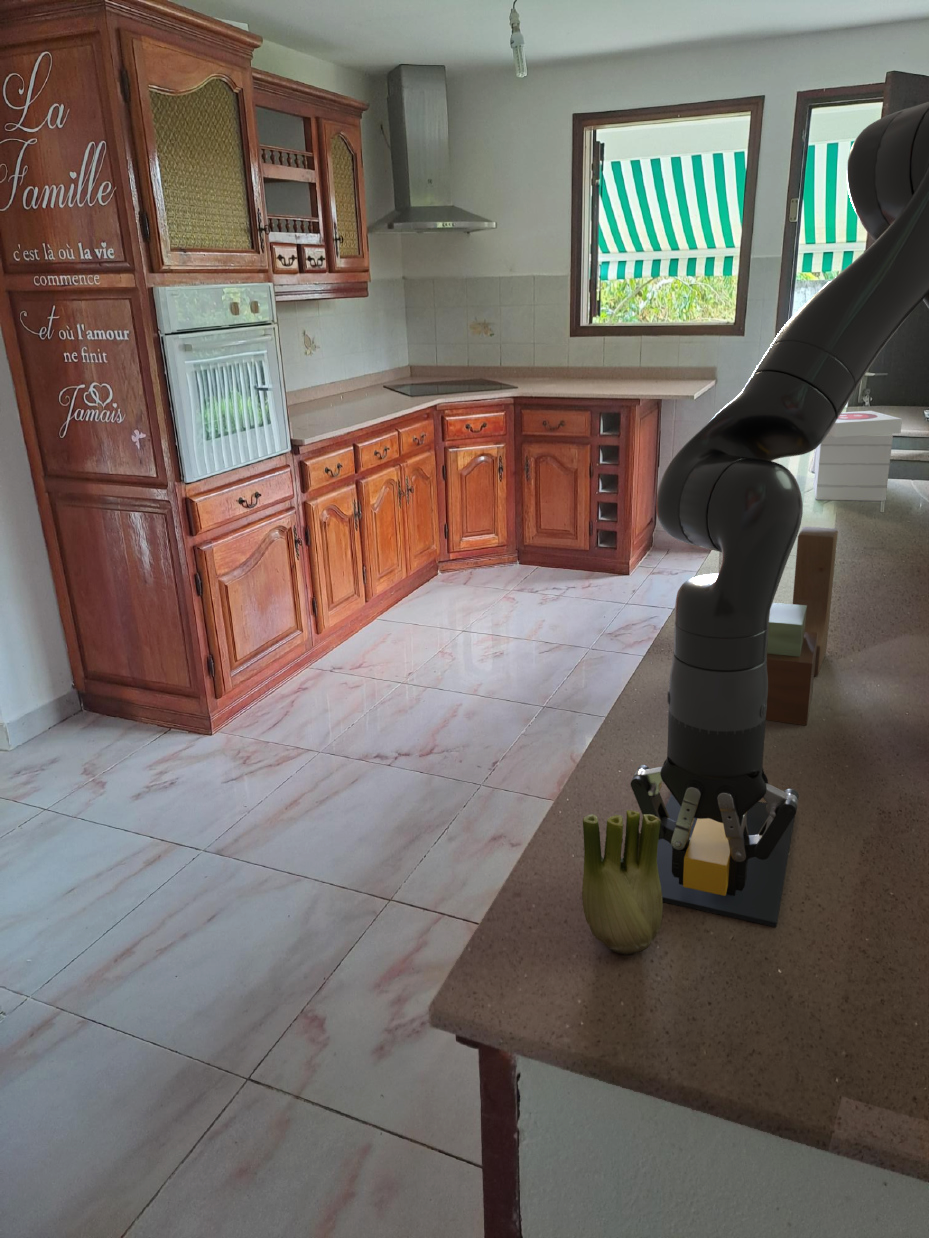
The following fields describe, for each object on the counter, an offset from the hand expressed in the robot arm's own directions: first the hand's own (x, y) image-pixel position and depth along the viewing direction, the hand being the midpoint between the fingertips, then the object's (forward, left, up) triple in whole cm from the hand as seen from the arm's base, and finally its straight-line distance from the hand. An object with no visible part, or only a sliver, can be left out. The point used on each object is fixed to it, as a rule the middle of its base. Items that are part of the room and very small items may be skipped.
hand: (708, 883), depth 76 cm
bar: (-2, -6, +1) cm, 7 cm away
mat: (-2, -6, -1) cm, 7 cm away
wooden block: (-22, -49, -1) cm, 54 cm away
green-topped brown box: (-14, -37, -1) cm, 40 cm away
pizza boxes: (-61, -154, -1) cm, 165 cm away
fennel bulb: (+8, +6, -1) cm, 10 cm away
